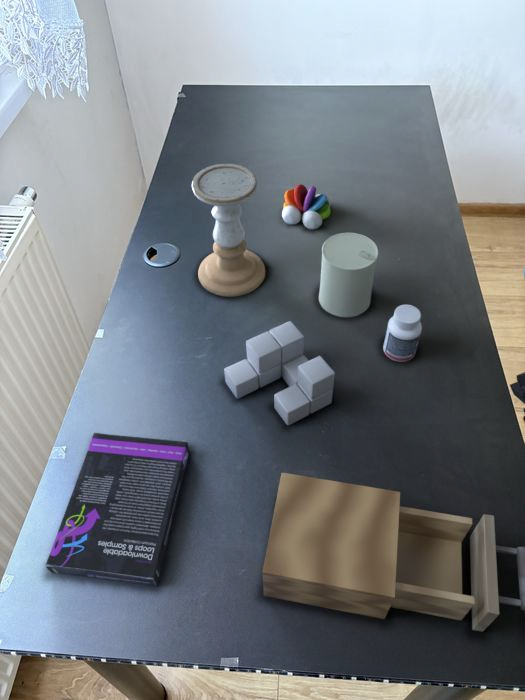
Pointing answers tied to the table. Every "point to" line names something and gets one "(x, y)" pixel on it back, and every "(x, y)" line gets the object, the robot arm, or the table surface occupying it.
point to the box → (121, 510)
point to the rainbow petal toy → (305, 207)
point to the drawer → (450, 567)
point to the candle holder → (228, 231)
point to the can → (347, 274)
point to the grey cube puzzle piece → (283, 373)
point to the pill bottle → (403, 333)
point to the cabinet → (333, 545)
